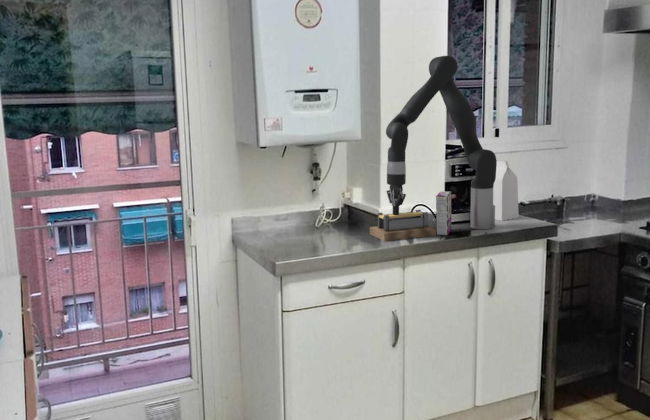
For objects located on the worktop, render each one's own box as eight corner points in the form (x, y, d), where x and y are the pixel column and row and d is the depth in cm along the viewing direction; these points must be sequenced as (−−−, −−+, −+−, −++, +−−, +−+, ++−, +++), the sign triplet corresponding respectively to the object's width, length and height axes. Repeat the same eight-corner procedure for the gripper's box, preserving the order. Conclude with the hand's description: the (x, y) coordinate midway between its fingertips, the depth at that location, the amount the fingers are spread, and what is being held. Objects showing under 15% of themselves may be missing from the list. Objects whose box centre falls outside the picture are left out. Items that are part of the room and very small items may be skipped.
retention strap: (421, 214, 253) (421, 210, 252) (425, 216, 249) (425, 212, 249) (379, 218, 246) (379, 214, 246) (383, 219, 242) (383, 215, 242)
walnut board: (419, 228, 259) (419, 221, 258) (435, 235, 246) (435, 227, 245) (369, 234, 251) (369, 227, 251) (384, 241, 238) (384, 233, 238)
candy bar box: (439, 229, 257) (439, 191, 254) (451, 230, 255) (451, 191, 252) (435, 235, 246) (435, 195, 243) (447, 235, 245) (448, 195, 242)
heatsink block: (419, 223, 255) (419, 208, 254) (428, 227, 248) (428, 211, 247) (377, 228, 249) (377, 212, 248) (386, 231, 241) (385, 215, 240)
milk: (481, 217, 280) (481, 161, 275) (497, 214, 286) (498, 159, 282) (501, 221, 270) (503, 162, 266) (518, 217, 277) (520, 160, 272)
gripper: (412, 173, 238) (411, 217, 241) (397, 170, 251) (396, 211, 254) (395, 174, 236) (394, 218, 239) (380, 171, 248) (380, 212, 251)
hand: (395, 214), depth 246 cm, fingers closed
